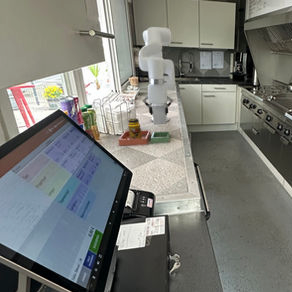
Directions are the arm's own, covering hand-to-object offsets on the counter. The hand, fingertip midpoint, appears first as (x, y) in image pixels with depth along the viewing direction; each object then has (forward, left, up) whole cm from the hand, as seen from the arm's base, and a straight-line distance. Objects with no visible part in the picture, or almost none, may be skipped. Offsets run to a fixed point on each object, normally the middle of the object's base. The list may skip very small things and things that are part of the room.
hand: (159, 114), depth 133 cm
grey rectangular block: (0, 0, -5) cm, 5 cm away
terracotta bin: (-1, -14, -16) cm, 21 cm away
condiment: (-1, -15, -15) cm, 21 cm away
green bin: (0, 0, -16) cm, 16 cm away
